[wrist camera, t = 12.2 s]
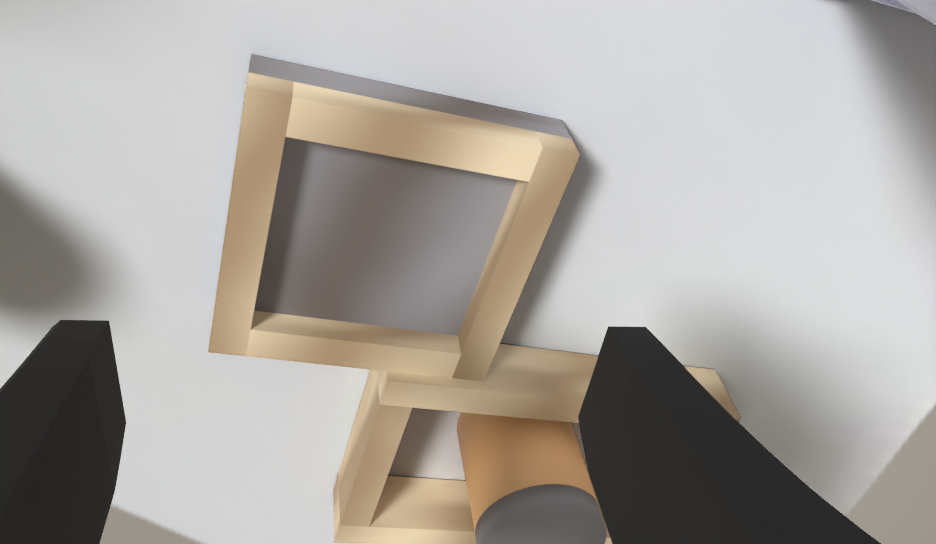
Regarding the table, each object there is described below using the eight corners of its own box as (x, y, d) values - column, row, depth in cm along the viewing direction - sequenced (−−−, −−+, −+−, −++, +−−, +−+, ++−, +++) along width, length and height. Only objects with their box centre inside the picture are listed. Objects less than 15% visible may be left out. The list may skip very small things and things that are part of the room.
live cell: (585, 426, 29) (626, 547, 25) (491, 472, 30) (518, 596, 26) (535, 365, 27) (572, 488, 23) (435, 417, 28) (454, 544, 24)
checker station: (840, 179, 24) (880, 222, 22) (625, 507, 33) (642, 555, 31) (251, 54, 19) (244, 96, 17) (190, 480, 28) (181, 536, 26)
